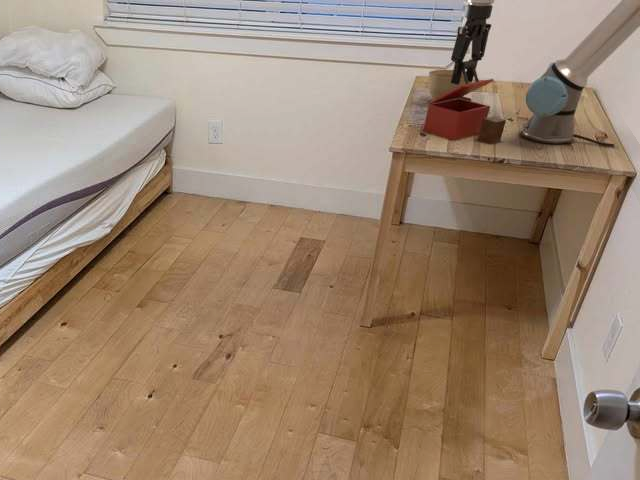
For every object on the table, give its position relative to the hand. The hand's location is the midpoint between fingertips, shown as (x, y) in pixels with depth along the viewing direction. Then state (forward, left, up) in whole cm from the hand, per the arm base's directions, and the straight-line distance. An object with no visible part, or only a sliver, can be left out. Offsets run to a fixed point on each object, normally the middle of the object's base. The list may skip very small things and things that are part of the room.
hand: (461, 82), depth 224 cm
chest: (-1, 0, -16) cm, 16 cm away
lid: (-1, 0, -3) cm, 3 cm away
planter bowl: (+25, -29, -16) cm, 42 cm away
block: (-14, -1, -16) cm, 21 cm away
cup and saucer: (+11, -17, -16) cm, 26 cm away
